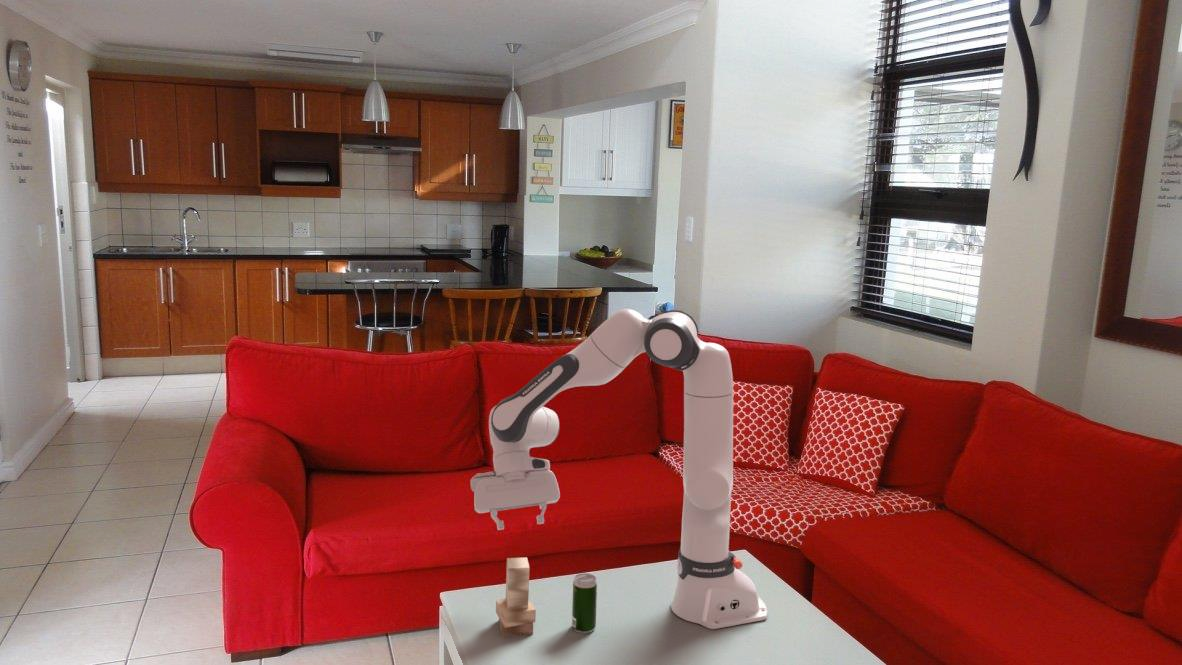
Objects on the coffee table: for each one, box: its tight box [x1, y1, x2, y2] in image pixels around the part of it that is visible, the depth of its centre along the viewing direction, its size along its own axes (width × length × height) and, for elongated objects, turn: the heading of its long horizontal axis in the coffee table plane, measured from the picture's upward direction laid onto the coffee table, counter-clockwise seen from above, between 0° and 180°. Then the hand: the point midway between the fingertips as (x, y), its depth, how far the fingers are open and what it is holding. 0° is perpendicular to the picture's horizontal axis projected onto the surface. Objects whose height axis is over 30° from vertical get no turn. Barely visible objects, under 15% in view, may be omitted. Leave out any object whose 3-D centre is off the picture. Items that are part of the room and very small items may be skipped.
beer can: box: [571, 572, 598, 635], centre depth 187 cm, size 5×5×12 cm
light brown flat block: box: [498, 617, 534, 638], centre depth 188 cm, size 7×7×3 cm
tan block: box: [505, 557, 530, 610], centre depth 186 cm, size 4×4×10 cm
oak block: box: [495, 597, 536, 628], centre depth 187 cm, size 7×7×3 cm
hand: (521, 526), depth 196 cm, fingers open, 8 cm apart
